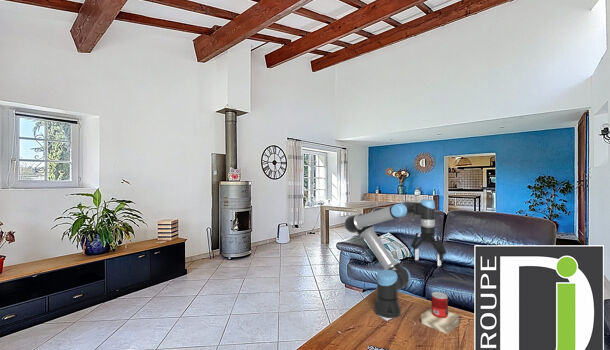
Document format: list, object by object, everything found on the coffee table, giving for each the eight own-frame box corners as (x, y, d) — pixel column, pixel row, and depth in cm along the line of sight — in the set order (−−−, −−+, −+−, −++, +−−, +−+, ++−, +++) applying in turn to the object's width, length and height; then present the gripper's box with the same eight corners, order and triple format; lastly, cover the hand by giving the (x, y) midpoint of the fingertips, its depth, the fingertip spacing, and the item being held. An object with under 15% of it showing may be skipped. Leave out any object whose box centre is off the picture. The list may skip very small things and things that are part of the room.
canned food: (449, 319, 150) (449, 298, 150) (433, 317, 151) (433, 297, 151) (445, 312, 157) (445, 292, 157) (430, 311, 159) (430, 291, 159)
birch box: (421, 323, 155) (421, 314, 155) (433, 315, 164) (433, 306, 164) (447, 334, 144) (447, 324, 144) (458, 324, 153) (458, 315, 153)
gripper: (404, 223, 172) (404, 258, 172) (446, 230, 153) (446, 269, 153) (411, 222, 177) (411, 256, 177) (452, 228, 157) (452, 266, 157)
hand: (427, 262), depth 165 cm, fingers open, 13 cm apart
